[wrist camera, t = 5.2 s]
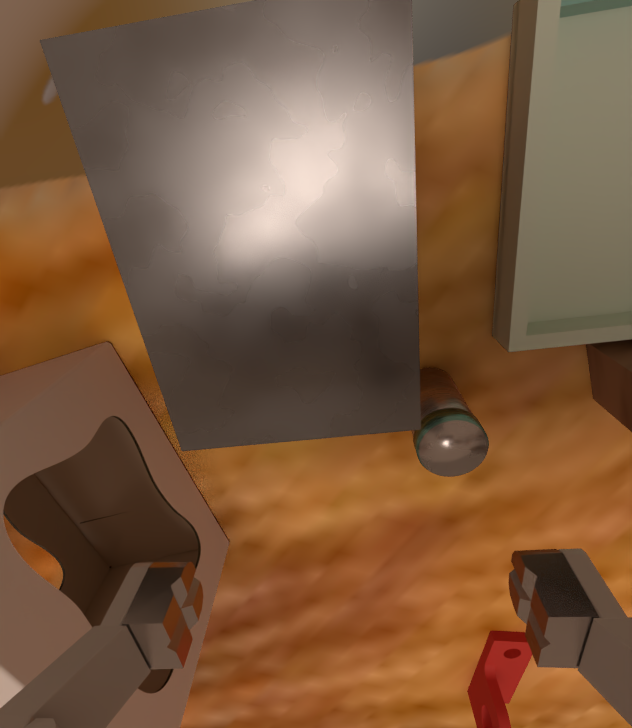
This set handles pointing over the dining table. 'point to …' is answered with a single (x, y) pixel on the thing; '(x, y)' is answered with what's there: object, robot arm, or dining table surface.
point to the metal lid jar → (447, 428)
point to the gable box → (93, 519)
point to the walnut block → (612, 377)
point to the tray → (566, 177)
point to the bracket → (498, 677)
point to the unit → (260, 210)
